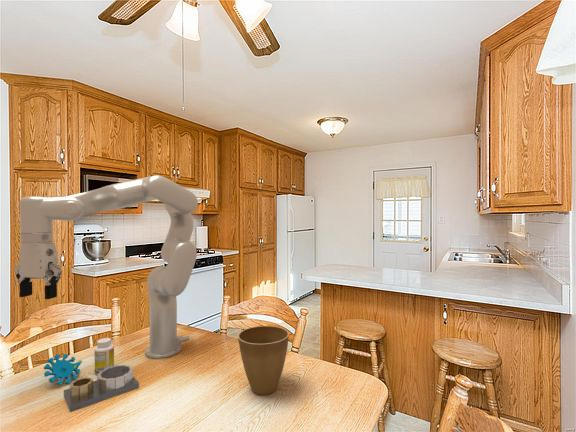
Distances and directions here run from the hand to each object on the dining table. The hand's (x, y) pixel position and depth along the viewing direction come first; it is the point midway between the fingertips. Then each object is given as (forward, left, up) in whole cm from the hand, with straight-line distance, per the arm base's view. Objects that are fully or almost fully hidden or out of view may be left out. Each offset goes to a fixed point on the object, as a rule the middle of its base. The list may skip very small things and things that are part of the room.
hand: (38, 297), depth 94 cm
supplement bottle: (-17, +1, -27) cm, 32 cm away
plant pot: (-49, +44, -27) cm, 71 cm away
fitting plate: (-13, +14, -27) cm, 33 cm away
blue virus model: (-6, -1, -27) cm, 28 cm away
